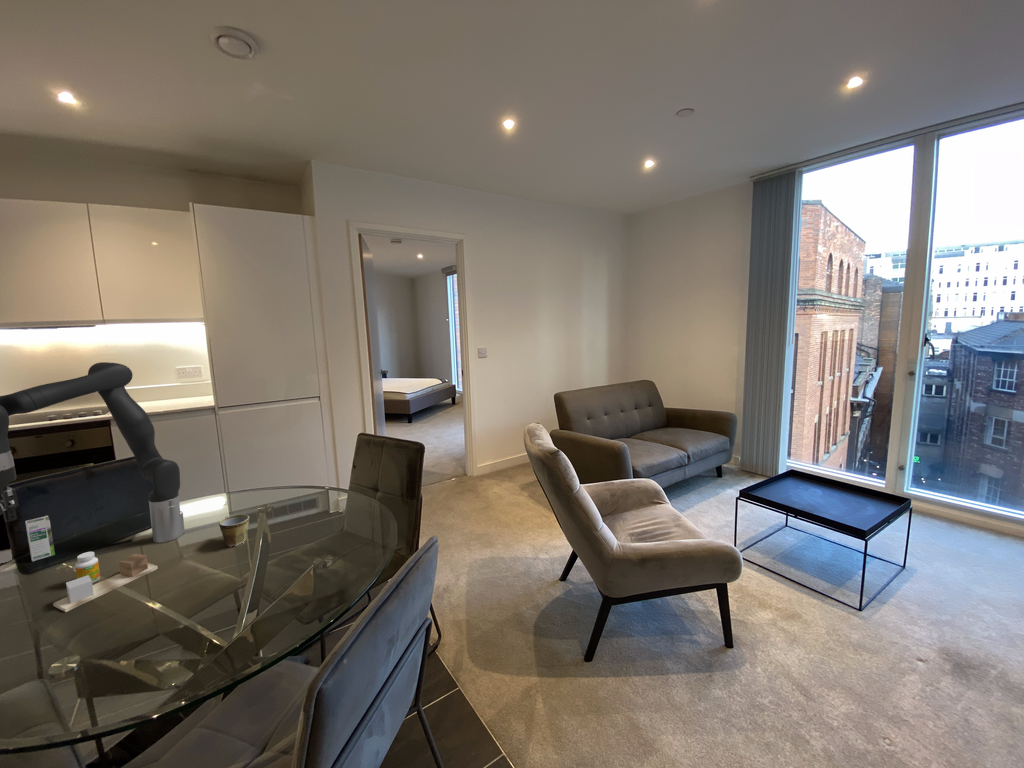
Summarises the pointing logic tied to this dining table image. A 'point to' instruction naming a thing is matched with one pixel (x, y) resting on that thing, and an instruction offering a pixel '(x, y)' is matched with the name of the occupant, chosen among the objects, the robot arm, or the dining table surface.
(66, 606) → the birch strip
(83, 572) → the supplement bottle
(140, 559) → the walnut block
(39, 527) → the syrup box
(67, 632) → the dining table surface
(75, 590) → the grey block
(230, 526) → the ceramic cup
